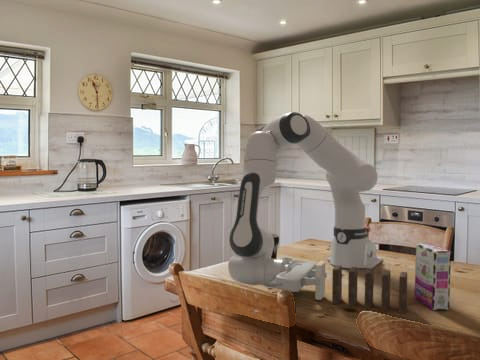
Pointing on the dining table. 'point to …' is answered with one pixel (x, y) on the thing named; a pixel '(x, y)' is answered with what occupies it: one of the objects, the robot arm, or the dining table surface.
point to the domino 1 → (337, 284)
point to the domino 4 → (385, 290)
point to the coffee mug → (275, 245)
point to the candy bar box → (432, 276)
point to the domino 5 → (403, 292)
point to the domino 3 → (369, 288)
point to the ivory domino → (321, 274)
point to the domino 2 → (352, 286)
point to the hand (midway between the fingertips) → (323, 278)
